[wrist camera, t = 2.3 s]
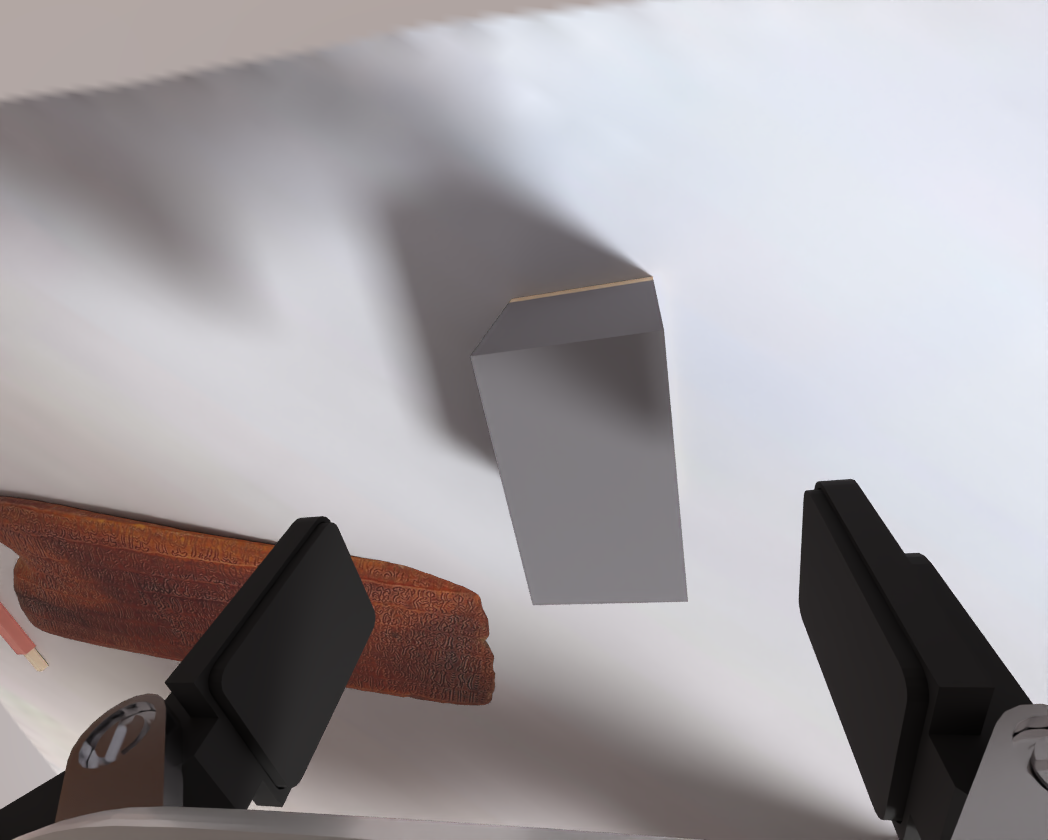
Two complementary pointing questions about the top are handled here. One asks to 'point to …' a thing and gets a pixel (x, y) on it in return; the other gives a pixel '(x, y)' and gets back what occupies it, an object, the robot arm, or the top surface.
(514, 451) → the sanding block
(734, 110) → the top surface
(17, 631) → the carpenter pencil
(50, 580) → the wooden tablet
